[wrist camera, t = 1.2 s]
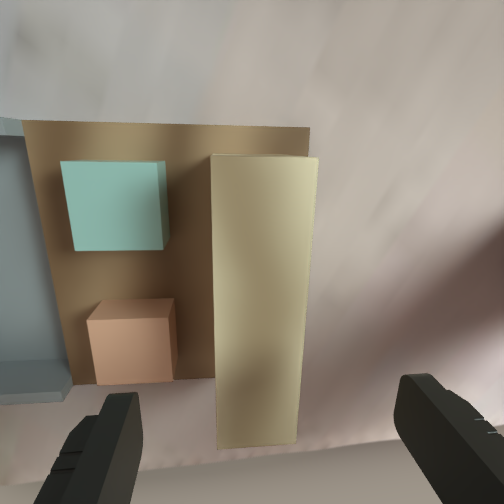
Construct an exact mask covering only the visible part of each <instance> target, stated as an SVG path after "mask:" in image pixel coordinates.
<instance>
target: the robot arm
mask: <svg viewBox="0 0 504 504" xmlns="http://www.w3.org/2000/svg"><path fill="white" fill-rule="evenodd" d="M394 423H395V427H396V430H397V432H398V434H399V436H400V438H401V439H402V441H403V442H404V444H405V446H406V447H407V449H408V450H409V452H410V453H411V455H412V456H413V458H414V459H415V461H416V463H417V464H418V466H419V467H420V469H421V470H422V472H423V473H424V475H425V477H426V478H427V480H428V481H429V483H430V484H431V486H432V488H433V489H434V491H435V492H436V494H437V495H438V497H439V498H440V500H441V502H442V503H443V504H504V437H503V436H502V435H501V434H498V433H497V430H496V429H495V428H494V427H493V426H492V425H491V424H490V423H489V422H488V421H485V420H484V417H483V416H482V415H481V414H480V413H479V412H478V411H477V410H476V409H475V408H474V407H473V406H472V405H471V404H470V403H469V402H467V401H466V400H464V399H463V398H461V397H460V396H458V395H457V394H455V393H453V392H452V391H450V390H446V389H445V388H444V387H443V386H442V385H441V384H440V383H439V382H438V381H437V380H436V379H435V378H434V377H433V376H432V375H430V374H428V373H424V374H409V375H403V376H402V377H401V379H400V383H399V388H398V393H397V398H396V404H395V409H394ZM142 447H143V429H142V421H141V413H140V405H139V397H138V393H137V392H130V393H115V394H109V395H108V396H107V397H106V399H105V402H104V404H103V406H102V409H101V411H100V413H99V415H92V416H86V417H85V418H84V419H83V420H82V421H81V422H80V423H79V424H78V425H77V426H76V427H75V428H74V429H73V430H72V431H71V432H70V433H69V435H68V437H67V439H66V441H65V443H64V445H63V447H62V449H61V451H60V454H59V457H57V459H56V461H55V463H54V464H53V466H52V468H51V472H50V475H48V476H47V478H46V480H45V482H44V484H43V486H42V488H41V490H40V492H39V494H38V496H37V498H36V500H35V501H34V504H130V501H131V497H132V492H133V488H134V485H135V480H136V476H137V472H138V468H139V464H140V460H141V455H142Z"/></svg>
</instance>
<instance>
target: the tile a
mask: <svg viewBox="0 0 504 504" xmlns="http://www.w3.org/2000/svg"><path fill="white" fill-rule="evenodd" d="M60 164H61V170H62V176H63V182H64V188H65V194H66V200H67V206H68V212H69V218H70V224H71V230H72V236H73V242H74V248H75V251H119V250H163V249H164V248H165V246H166V244H167V242H168V241H169V239H170V227H169V211H168V196H167V181H166V166H165V161H144V160H70V161H60Z"/></svg>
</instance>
